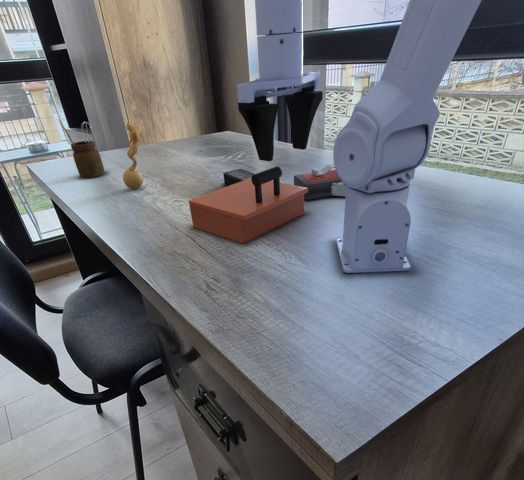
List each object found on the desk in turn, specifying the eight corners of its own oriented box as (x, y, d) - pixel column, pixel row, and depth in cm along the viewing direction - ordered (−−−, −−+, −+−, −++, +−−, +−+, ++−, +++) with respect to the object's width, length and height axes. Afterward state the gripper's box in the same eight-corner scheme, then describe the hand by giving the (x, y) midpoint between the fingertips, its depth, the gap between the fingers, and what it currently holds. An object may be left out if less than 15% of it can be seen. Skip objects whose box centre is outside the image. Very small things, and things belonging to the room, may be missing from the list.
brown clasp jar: (107, 175, 92) (89, 117, 84) (79, 180, 90) (59, 121, 83) (103, 170, 96) (87, 114, 89) (77, 174, 94) (58, 118, 87)
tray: (304, 213, 64) (304, 191, 61) (242, 243, 56) (240, 220, 54) (254, 201, 70) (252, 181, 68) (193, 227, 62) (189, 205, 60)
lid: (308, 192, 61) (308, 160, 58) (244, 220, 53) (240, 185, 50) (252, 181, 68) (250, 152, 65) (189, 205, 60) (183, 173, 57)
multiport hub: (242, 179, 82) (241, 168, 80) (270, 191, 74) (269, 178, 73) (223, 184, 80) (222, 172, 78) (250, 196, 72) (249, 183, 71)
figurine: (123, 185, 84) (105, 122, 76) (150, 180, 86) (136, 118, 78) (129, 195, 78) (110, 128, 70) (158, 190, 80) (143, 123, 72)
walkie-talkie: (302, 205, 67) (406, 189, 70) (302, 178, 64) (410, 162, 67) (286, 191, 73) (382, 176, 77) (286, 166, 70) (385, 152, 74)
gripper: (292, 33, 54) (293, 141, 63) (215, 40, 46) (228, 162, 55) (334, 30, 50) (329, 145, 59) (257, 36, 42) (265, 168, 51)
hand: (283, 154), depth 56 cm, fingers open, 7 cm apart
